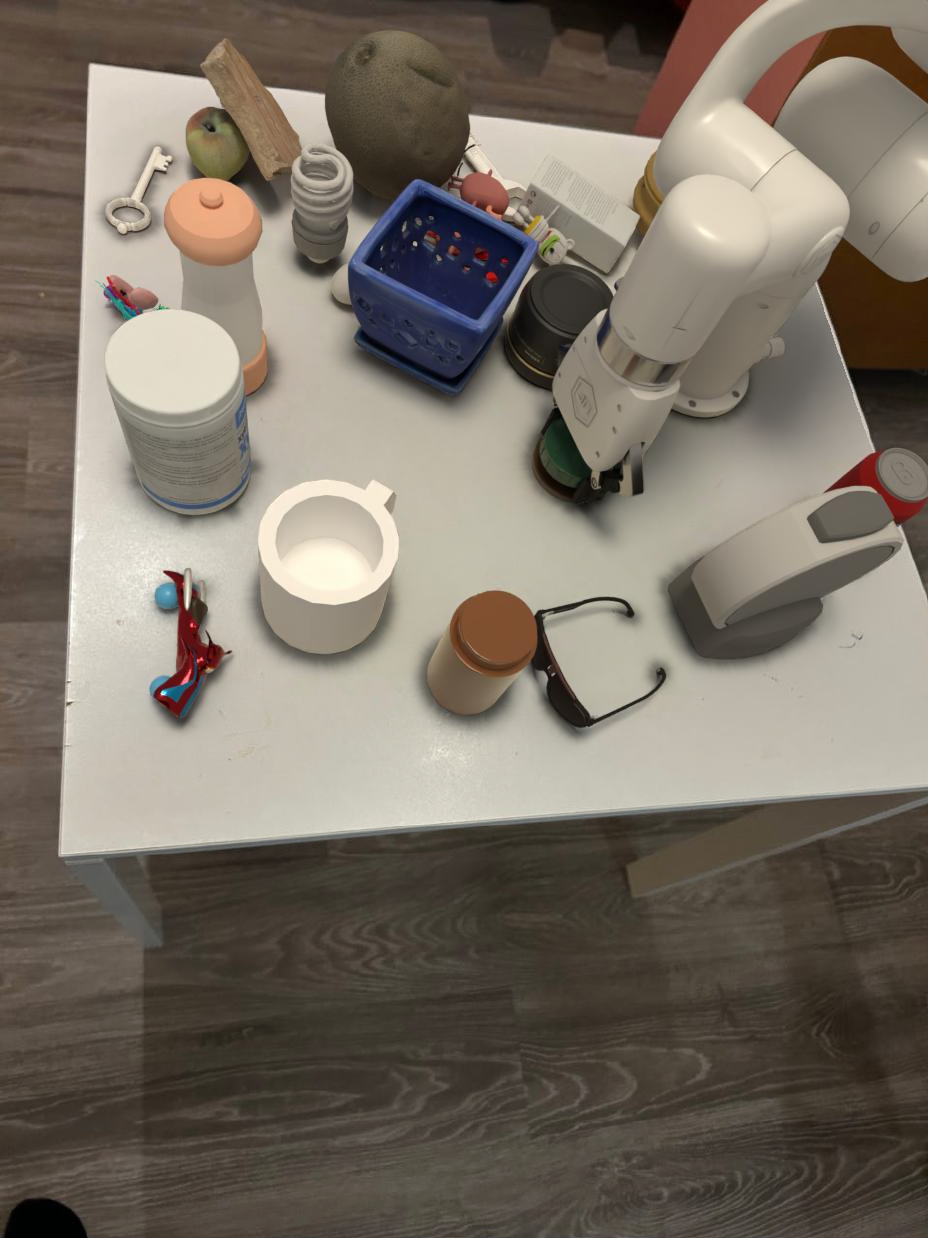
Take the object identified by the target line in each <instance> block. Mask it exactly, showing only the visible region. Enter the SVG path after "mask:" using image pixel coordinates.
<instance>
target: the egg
mask: <svg viewBox="0 0 928 1238" xmlns="http://www.w3.org/2000/svg"><path fill="white" fill-rule="evenodd" d="M348 264H349V261H348V262H346V263H344V264H343V265H342V266H341V267H340V268H339V269H338V270H336V272H335V273H334V275H333V276H332V279H331V284H330V289H331V292H332V294H331V295H333V296H334V298H335V299H336V300H337V301H338V302H340V303H342V304H345V305H351V306H352V304H351V300H350V295H349V287H348ZM381 270H382V268H381ZM381 270H380V272H381Z"/></svg>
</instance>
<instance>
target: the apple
mask: <svg viewBox="0 0 928 1238" xmlns="http://www.w3.org/2000/svg"><path fill="white" fill-rule="evenodd" d="M185 144H186V150H187V152H188V154H189V156H190V159H191V161H192V163H193V165H194V167H195V168H196V169H197V170H198V171H199V172H201V174H203V175H204V176H205V178H215V179H220V180H224V181H227V182H229V181H230V179H231V178H233V177H234V176H236V174H237V173H239V172H240V171H241V170H242V168H243V167H244V166H245V164H246V162H247V160H248V158H249V155H250V149H249V146H248V144H247V142H246V140H245V139H244V136H243V135H242V133H241V131H240V129H239V127H238V126H237V124H236V123H235V121H234V120H233V118H232V117H231V115H230V114H229V113H228V112H227V111H226V110H225V109H224V108H220V107H219V108H218V107H215V106H205V107H203V108H200V109H199V110H197V111H196V112H195V113H194V114H192V115H191V116H190V117H189V119H188V121H187V122H186V126H185Z"/></svg>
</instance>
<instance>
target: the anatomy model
mask: <svg viewBox="0 0 928 1238" xmlns="http://www.w3.org/2000/svg"><path fill="white" fill-rule="evenodd" d="M105 278H106V281H107V283H108V285H107V286H106V284H105V283H103V282H102V284H101V282H100V281H98V280H96V279H95V280H94V281H95V282H96V283H97V284H98V285H99V287H100V288H102V289H103V296H104V297H105V298H106V299H107V301H108V302H112V304H113V306H114V307H115V308H116V309H117V310H118V311H120V312H121V314H122V315H123V316H122V317H123V319H124V320H126V322H127V321H128V320H130V319H132V318H134V317H136V316H138V315H140V314H143V312H144V311H146V310H150V309H151V310H152V311H156V310H164V309H170V307H168V306H165V305H161V303H159V297H158V296H157V295H156V294H155V293H153V292H152V291H151V290H148V289H146V288H144V287H136V288H134V286H132V285H131V284H130V283H129V282H127V281H126V280H125V279H123V278H122V277H119V276H118V275H115V274H111V275H110V276H109V275H107V276H106V277H105ZM157 305H158V307H156V306H157ZM155 307H156V308H155Z"/></svg>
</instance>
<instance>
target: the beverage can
mask: <svg viewBox="0 0 928 1238" xmlns="http://www.w3.org/2000/svg"><path fill="white" fill-rule="evenodd" d="M851 486H868V487H872V488H873V489H874V490H876V491H877V493H878V494H881V495H882V497H883V499H884V500H885V502H886V504H887V506H888V507H889V509H890V511H891V513H892V514H893V516H894V520H893V521H894V523H895V524H896V526H897V528H899V527H900V526H901V525H903V524H904V523H906V522H907V521H909V520H910V519H911V518H913V517H914V516H916V515H917V514H918V513H920V512H921V511H922V510H923V509H924V507H925V506H926V503H927V501H928V464H926V462H925V461H924V459H922V458H921V457H920V456H919V455H917V454H916V453H914V452H913V451H911V450H909V449H906V448H903V447H891V448H888V449H886V450H878V451H874V452H871V453H869V454H868V455H866V456H865V457H864V458H863V459H861V460H860V461H859V462H858V463H857V464H855V465H854V466H853V467H852V468H850V469H849V470H848V471H847V472H846V473H844V474H843V475H842V476H841V477H840V478H839V479H837V480H836V481H835V482H833V484H832V485H830V486H829V487H828V488H827V489H825V490H824V491H823V492H822V493H821V494H823V493H826V492H829V491H832V490H836V489H841V488H846V487H851Z"/></svg>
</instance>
